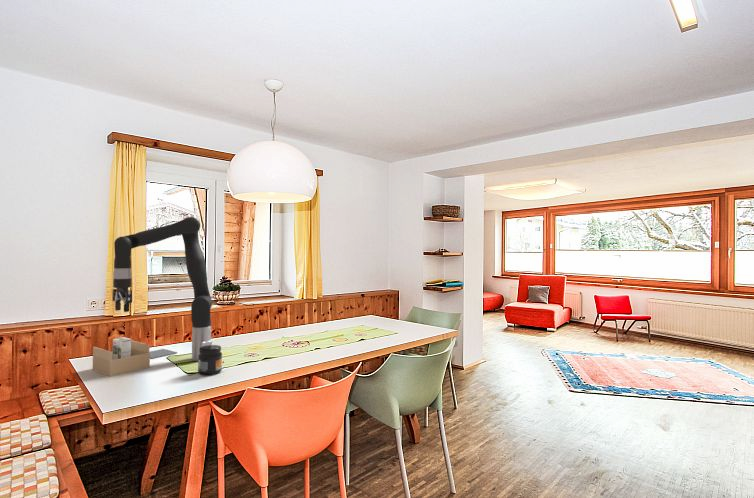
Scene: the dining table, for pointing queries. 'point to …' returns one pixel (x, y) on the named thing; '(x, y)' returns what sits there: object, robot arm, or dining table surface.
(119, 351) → the syrup box
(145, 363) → the carton
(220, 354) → the supplement container
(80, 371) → the dining table surface
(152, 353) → the mat
